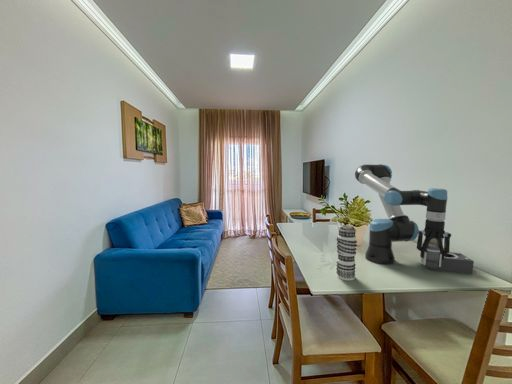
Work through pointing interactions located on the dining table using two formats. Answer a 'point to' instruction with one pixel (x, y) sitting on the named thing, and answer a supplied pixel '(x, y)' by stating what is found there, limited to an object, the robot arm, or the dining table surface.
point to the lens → (432, 256)
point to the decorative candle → (346, 253)
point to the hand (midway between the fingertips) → (431, 264)
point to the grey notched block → (455, 264)
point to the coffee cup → (434, 240)
